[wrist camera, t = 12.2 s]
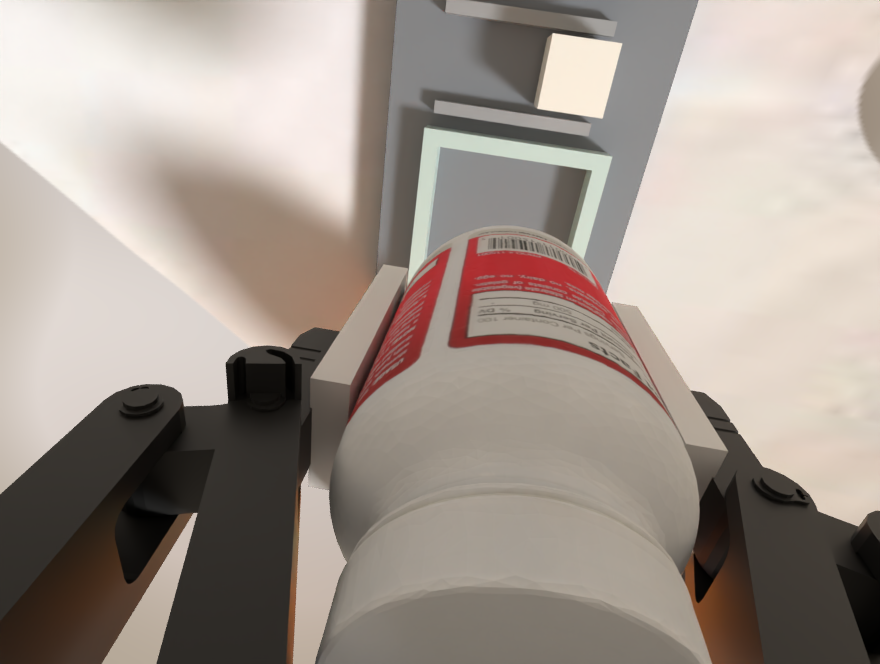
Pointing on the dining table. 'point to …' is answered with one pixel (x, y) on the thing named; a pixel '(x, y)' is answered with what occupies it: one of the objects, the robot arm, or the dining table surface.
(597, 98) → the toggle plain
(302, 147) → the dining table surface
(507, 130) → the panel
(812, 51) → the dining table surface
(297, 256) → the dining table surface
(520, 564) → the pill bottle
